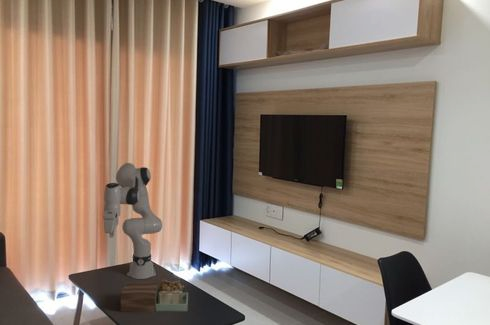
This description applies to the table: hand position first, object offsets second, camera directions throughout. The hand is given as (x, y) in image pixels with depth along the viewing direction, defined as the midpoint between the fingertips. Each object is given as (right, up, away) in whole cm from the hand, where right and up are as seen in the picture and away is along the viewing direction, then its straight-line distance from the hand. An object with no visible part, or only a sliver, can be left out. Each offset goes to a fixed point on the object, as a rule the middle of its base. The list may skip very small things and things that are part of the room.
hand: (111, 236), depth 234 cm
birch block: (+27, -35, +2) cm, 44 cm away
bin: (+34, -39, +2) cm, 51 cm away
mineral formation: (+30, -38, +17) cm, 51 cm away
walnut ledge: (+16, -38, -1) cm, 41 cm away
